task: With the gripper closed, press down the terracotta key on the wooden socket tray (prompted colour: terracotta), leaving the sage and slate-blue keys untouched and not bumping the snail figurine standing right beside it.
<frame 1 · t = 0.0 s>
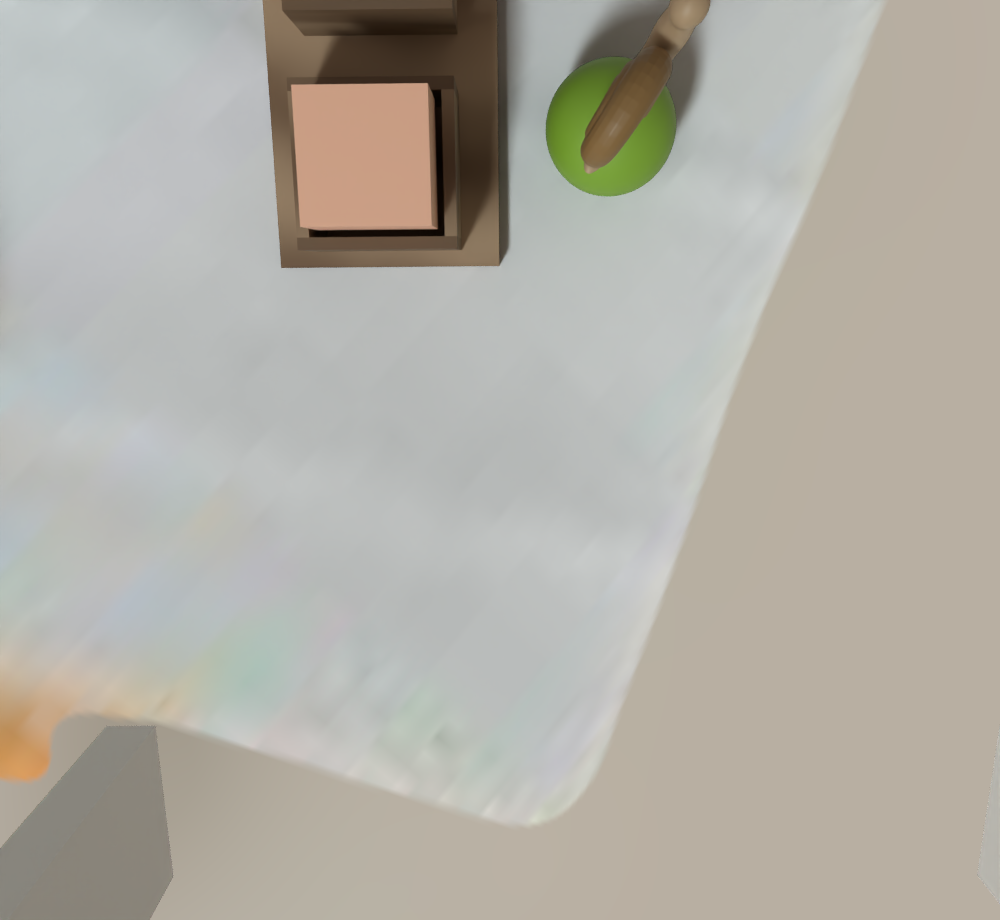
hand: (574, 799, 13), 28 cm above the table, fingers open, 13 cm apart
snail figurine: (608, 129, 37), on the table
terracotta key: (369, 161, 32), point 6 cm above the table, slide at 0.0 cm
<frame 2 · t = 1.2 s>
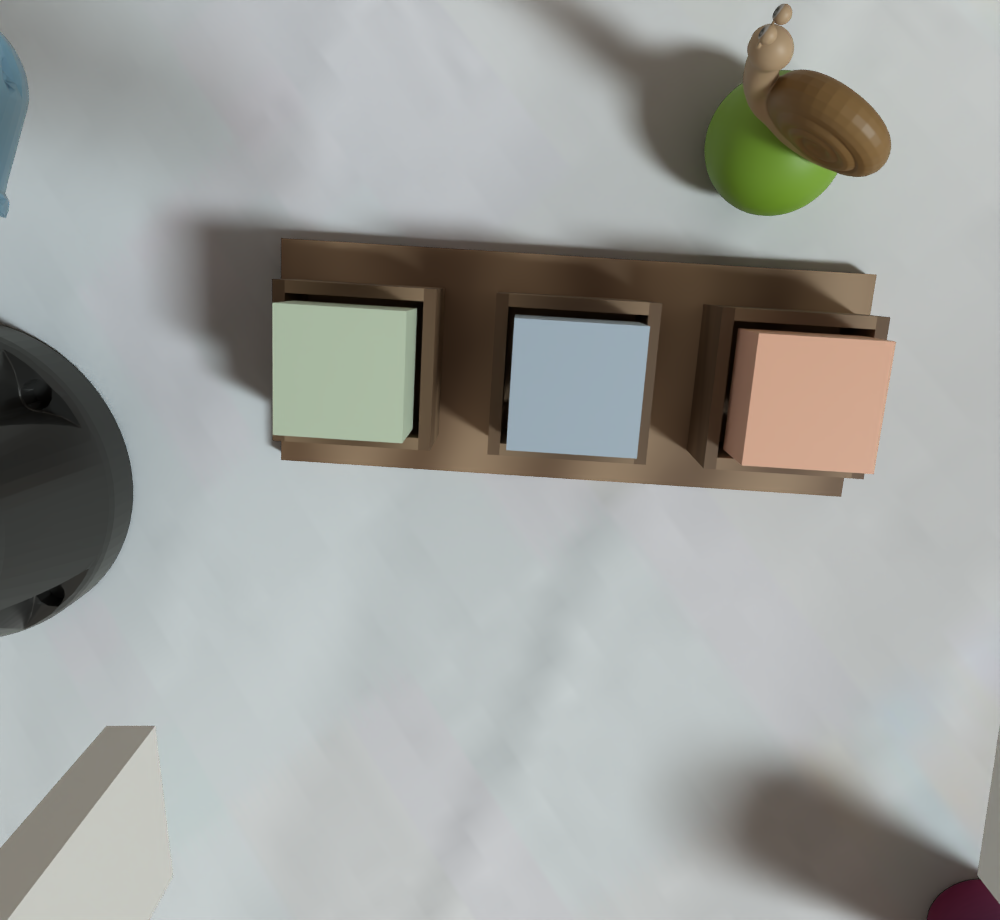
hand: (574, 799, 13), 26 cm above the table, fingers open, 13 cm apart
wooden socket tray: (566, 368, 37), on the table
sage key: (346, 369, 32), point 6 cm above the table, slide at 0.0 cm
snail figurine: (745, 148, 35), on the table
slate key: (574, 384, 32), point 6 cm above the table, slide at 0.0 cm
cup 2: (972, 916, 43), on the table
terracotta key: (803, 398, 32), point 6 cm above the table, slide at 0.0 cm
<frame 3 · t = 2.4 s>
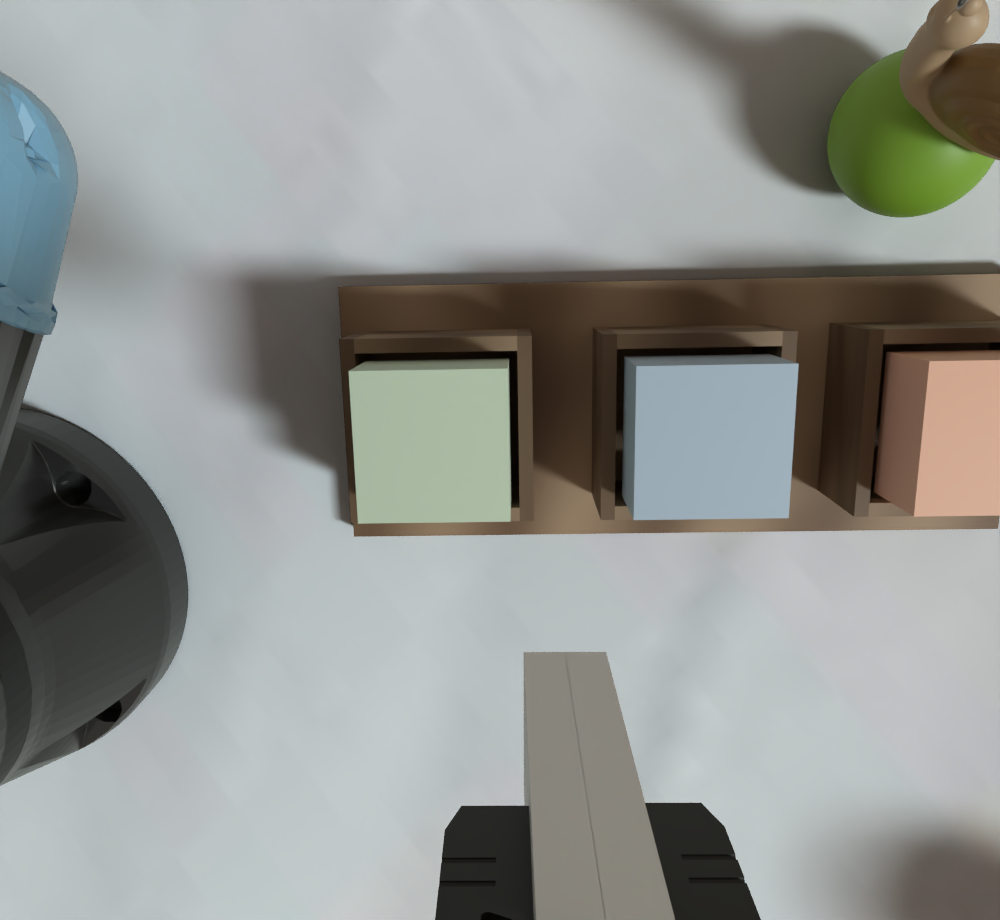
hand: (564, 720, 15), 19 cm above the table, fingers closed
wooden socket tray: (671, 406, 33), on the table
sage key: (435, 438, 27), point 6 cm above the table, slide at 0.0 cm
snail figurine: (865, 140, 30), on the table
slate key: (703, 434, 27), point 6 cm above the table, slide at 0.0 cm
terracotta key: (975, 430, 27), point 6 cm above the table, slide at 0.0 cm
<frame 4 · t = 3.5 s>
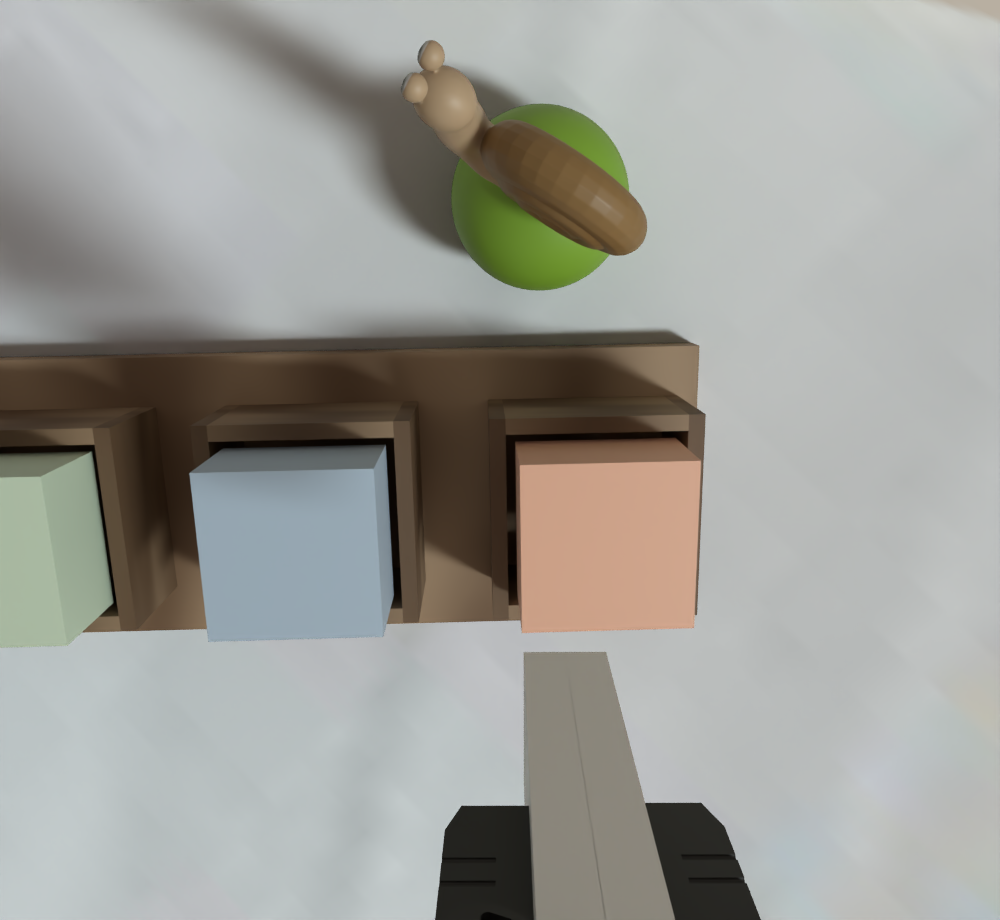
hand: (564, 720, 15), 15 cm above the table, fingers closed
wooden socket tray: (333, 487, 30), on the table
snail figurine: (521, 198, 28), on the table
slate key: (300, 539, 24), point 6 cm above the table, slide at 0.0 cm
terracotta key: (601, 531, 24), point 6 cm above the table, slide at 0.0 cm
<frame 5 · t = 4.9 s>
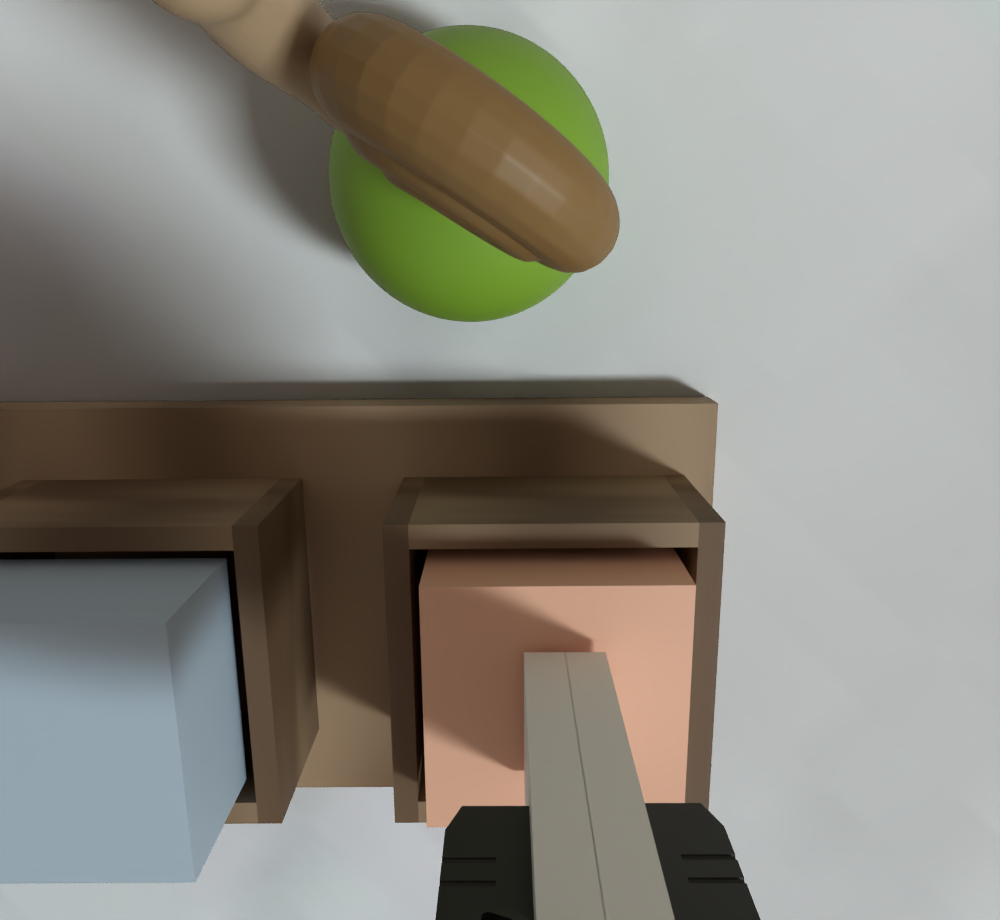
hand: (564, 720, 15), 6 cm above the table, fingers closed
wooden socket tray: (191, 593, 21), on the table
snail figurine: (456, 182, 19), on the table
slate key: (79, 711, 15), point 6 cm above the table, slide at 0.0 cm
terracotta key: (551, 671, 17), point 4 cm above the table, slide at 1.4 cm
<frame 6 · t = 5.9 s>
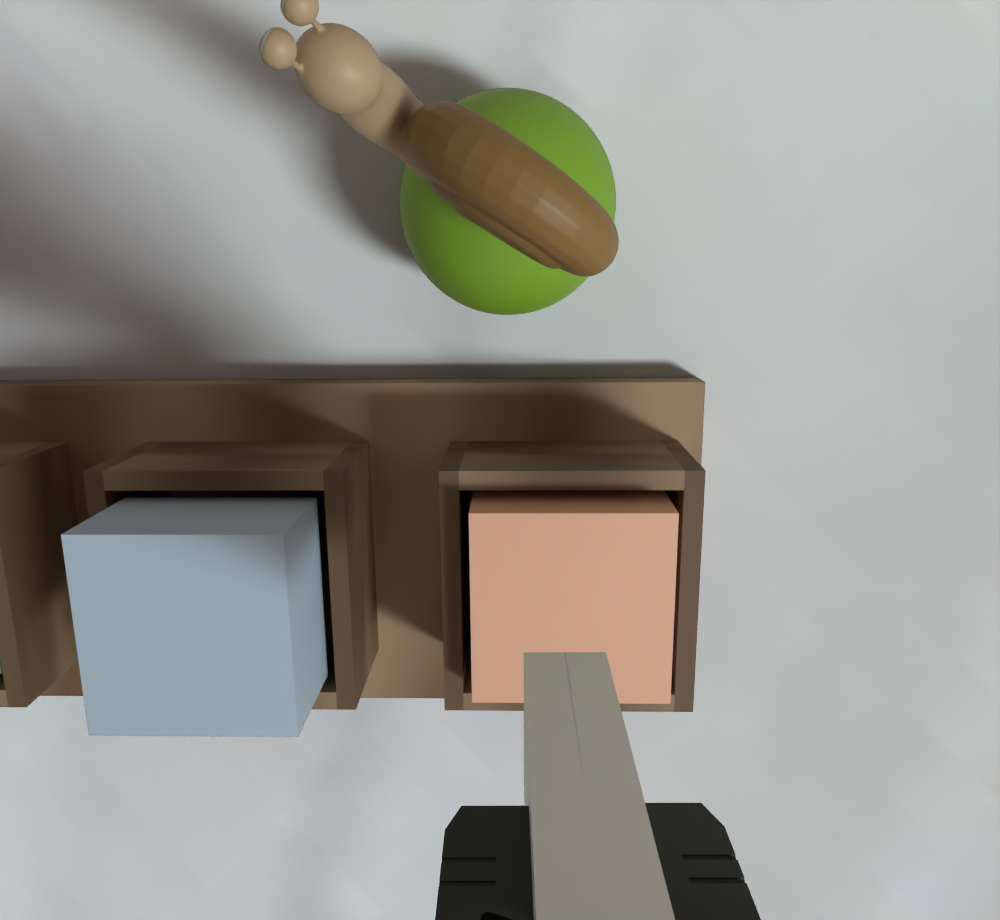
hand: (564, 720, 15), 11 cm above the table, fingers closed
wooden socket tray: (275, 537, 26), on the table
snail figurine: (494, 204, 23), on the table
slate key: (207, 611, 20), point 6 cm above the table, slide at 0.0 cm
terracotta key: (568, 587, 21), point 4 cm above the table, slide at 1.6 cm
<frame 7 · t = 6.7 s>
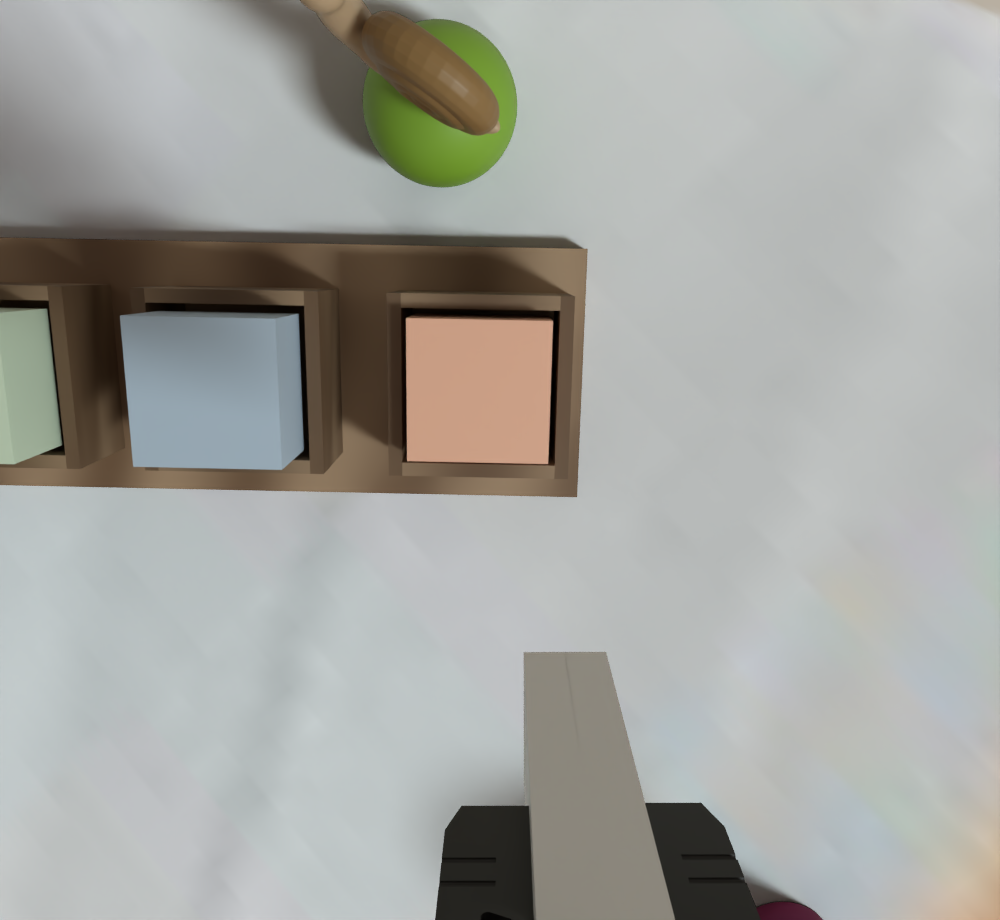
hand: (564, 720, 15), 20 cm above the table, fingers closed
wooden socket tray: (266, 367, 34), on the table
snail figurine: (435, 113, 31), on the table
slate key: (218, 387, 28), point 6 cm above the table, slide at 0.0 cm
terracotta key: (479, 386, 30), point 4 cm above the table, slide at 1.6 cm
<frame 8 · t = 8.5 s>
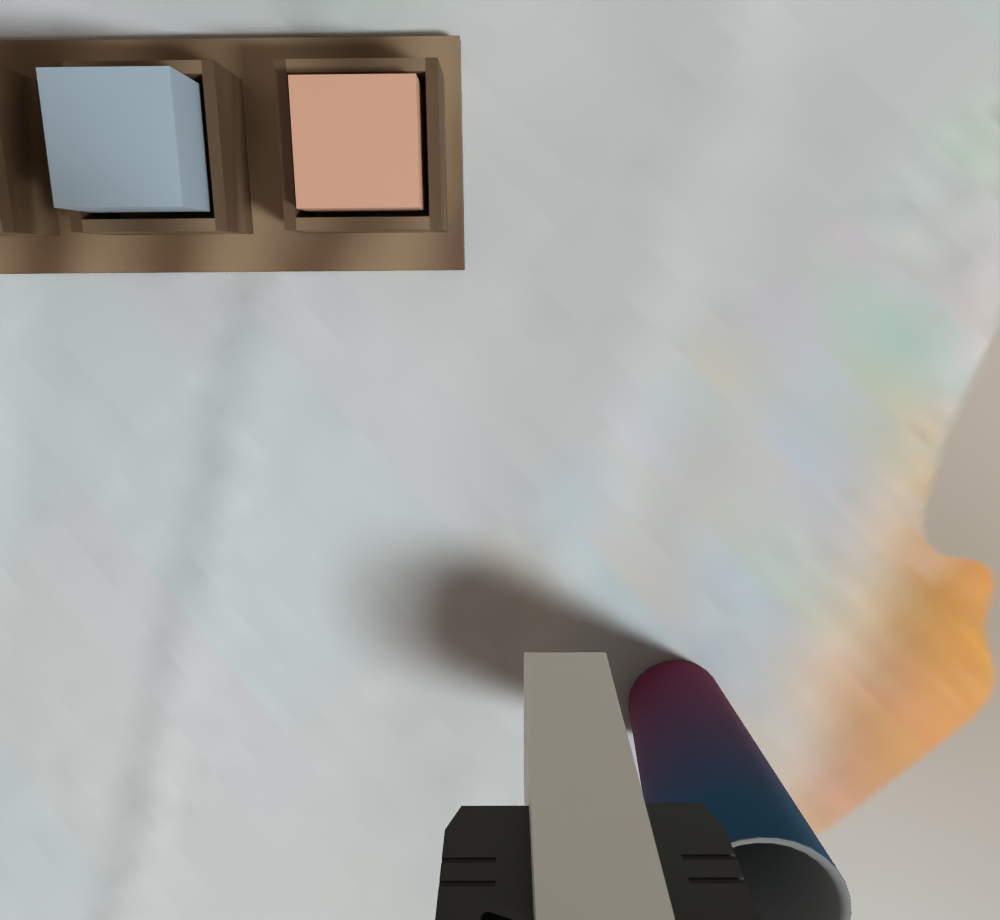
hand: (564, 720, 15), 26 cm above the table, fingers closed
wooden socket tray: (183, 162, 38), on the table
slate key: (128, 144, 32), point 6 cm above the table, slide at 0.0 cm
cup 2: (673, 700, 44), on the table
terracotta key: (361, 147, 34), point 4 cm above the table, slide at 1.6 cm
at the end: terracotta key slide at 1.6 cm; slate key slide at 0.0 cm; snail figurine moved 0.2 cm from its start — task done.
